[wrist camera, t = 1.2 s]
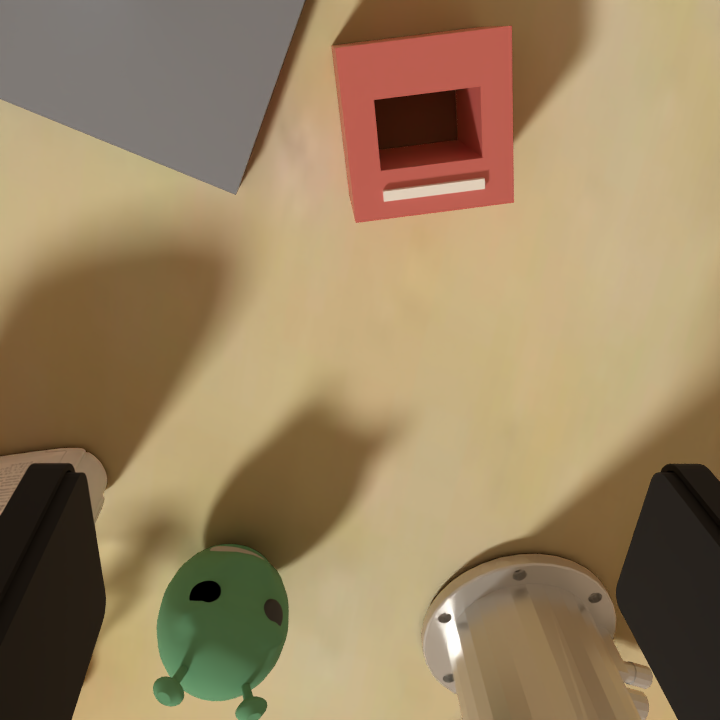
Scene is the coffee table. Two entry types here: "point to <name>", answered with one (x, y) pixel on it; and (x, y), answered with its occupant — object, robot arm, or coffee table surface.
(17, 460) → the photo printer
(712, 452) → the coffee table surface
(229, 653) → the alien toy
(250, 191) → the coffee table surface
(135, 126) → the base
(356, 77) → the red cubby box
